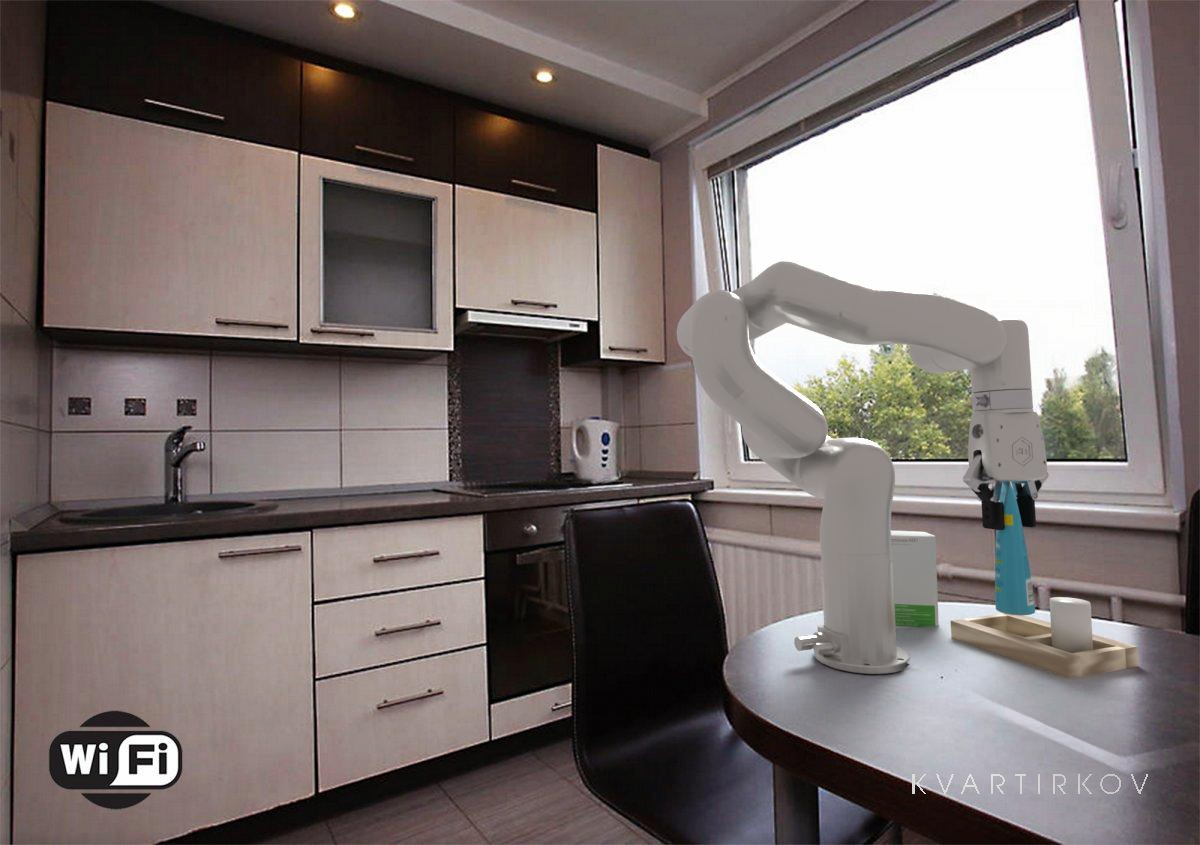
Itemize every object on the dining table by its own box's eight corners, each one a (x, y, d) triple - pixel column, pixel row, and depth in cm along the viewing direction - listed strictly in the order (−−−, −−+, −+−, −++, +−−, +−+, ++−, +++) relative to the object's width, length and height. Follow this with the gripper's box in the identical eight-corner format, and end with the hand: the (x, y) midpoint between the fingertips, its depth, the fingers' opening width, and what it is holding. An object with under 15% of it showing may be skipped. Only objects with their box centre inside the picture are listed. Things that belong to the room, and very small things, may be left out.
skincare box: (885, 630, 103) (881, 535, 104) (877, 619, 110) (873, 529, 110) (941, 632, 101) (937, 535, 102) (930, 621, 108) (925, 529, 108)
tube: (990, 604, 96) (982, 478, 97) (1027, 606, 95) (1019, 478, 95) (1002, 617, 89) (994, 481, 90) (1043, 619, 88) (1034, 481, 88)
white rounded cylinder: (1076, 669, 81) (1073, 606, 81) (1044, 658, 85) (1041, 598, 86) (1102, 665, 82) (1099, 603, 83) (1069, 654, 87) (1066, 595, 87)
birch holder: (1068, 686, 78) (1066, 657, 78) (951, 643, 96) (950, 620, 96) (1139, 674, 82) (1137, 646, 82) (1013, 635, 99) (1012, 612, 99)
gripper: (977, 403, 87) (984, 535, 87) (1070, 401, 92) (1078, 526, 91) (935, 406, 95) (941, 528, 94) (1023, 404, 99) (1030, 521, 99)
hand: (1009, 526), depth 93 cm, fingers closed on tube, 5 cm apart
